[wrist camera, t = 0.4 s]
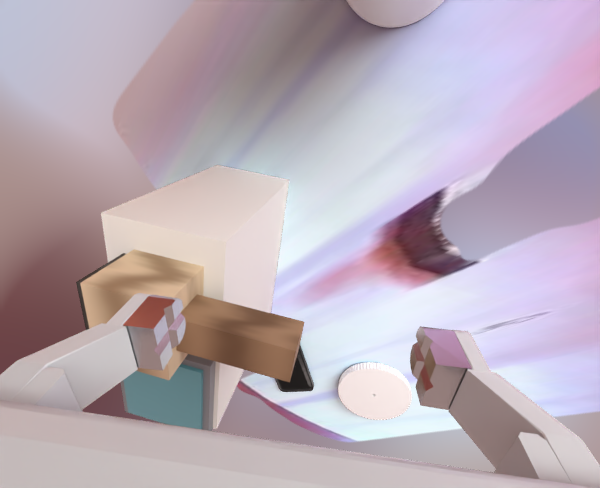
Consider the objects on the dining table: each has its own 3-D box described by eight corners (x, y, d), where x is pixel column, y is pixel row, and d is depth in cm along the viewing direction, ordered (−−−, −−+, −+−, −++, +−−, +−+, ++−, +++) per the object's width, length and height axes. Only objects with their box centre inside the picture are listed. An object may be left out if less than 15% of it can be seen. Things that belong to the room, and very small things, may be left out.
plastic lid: (384, 348, 58) (385, 358, 56) (423, 396, 61) (426, 407, 59) (325, 373, 63) (324, 383, 61) (364, 416, 66) (363, 427, 64)
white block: (217, 164, 49) (100, 212, 28) (289, 179, 48) (226, 242, 26) (212, 296, 60) (128, 402, 39) (271, 311, 59) (216, 429, 38)
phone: (294, 334, 59) (314, 390, 65) (295, 330, 60) (315, 386, 66) (258, 338, 62) (280, 392, 67) (259, 334, 63) (281, 388, 68)
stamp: (310, 292, 27) (296, 340, 21) (297, 358, 30) (282, 413, 25) (126, 247, 29) (70, 280, 23) (133, 314, 32) (87, 356, 27)
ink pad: (122, 331, 34) (111, 341, 32) (215, 358, 33) (208, 369, 31) (131, 403, 39) (122, 414, 38) (212, 428, 38) (206, 440, 36)
